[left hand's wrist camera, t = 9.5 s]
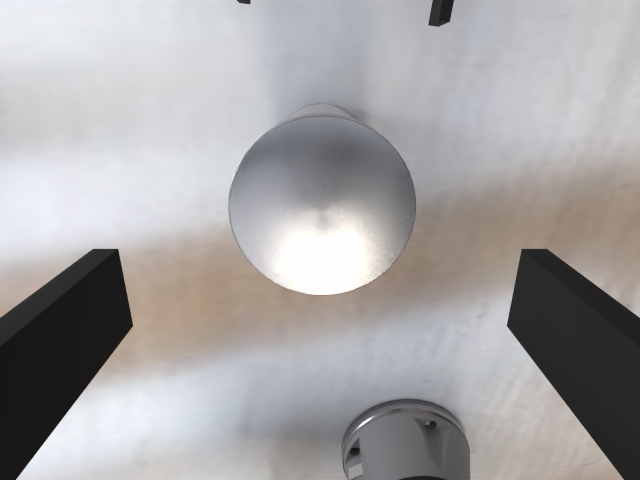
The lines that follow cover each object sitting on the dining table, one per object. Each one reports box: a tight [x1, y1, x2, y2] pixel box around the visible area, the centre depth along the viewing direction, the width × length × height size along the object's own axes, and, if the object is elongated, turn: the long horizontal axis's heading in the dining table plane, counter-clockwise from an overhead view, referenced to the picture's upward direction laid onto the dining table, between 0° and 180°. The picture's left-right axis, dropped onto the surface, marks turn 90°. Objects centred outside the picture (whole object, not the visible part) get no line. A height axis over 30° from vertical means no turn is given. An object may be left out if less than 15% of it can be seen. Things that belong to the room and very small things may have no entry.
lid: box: [229, 113, 416, 295], centre depth 21 cm, size 9×9×2 cm
